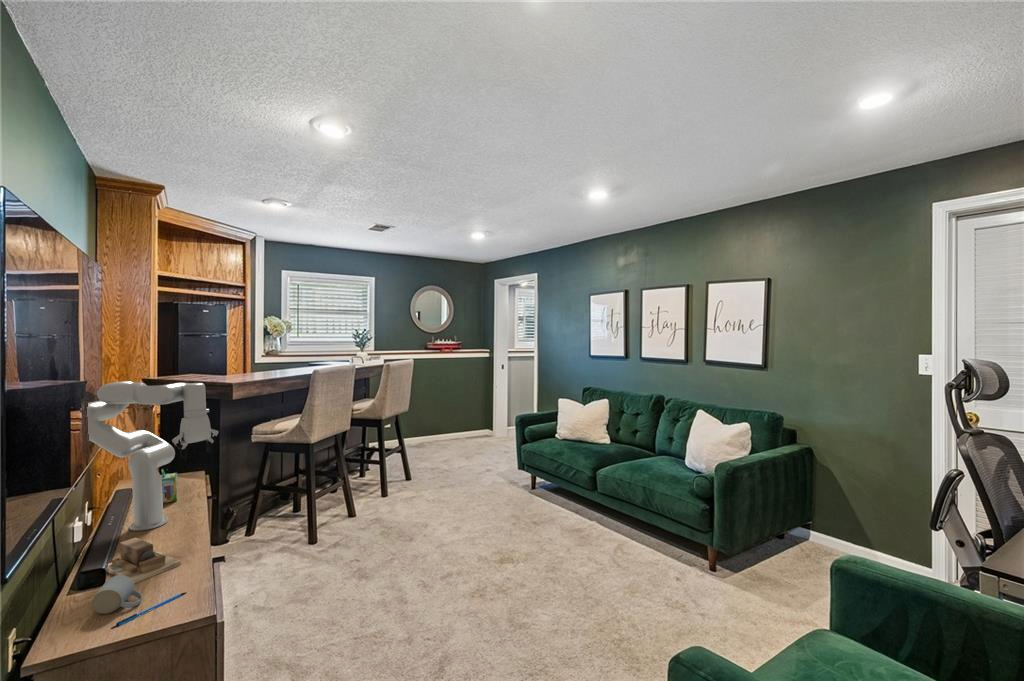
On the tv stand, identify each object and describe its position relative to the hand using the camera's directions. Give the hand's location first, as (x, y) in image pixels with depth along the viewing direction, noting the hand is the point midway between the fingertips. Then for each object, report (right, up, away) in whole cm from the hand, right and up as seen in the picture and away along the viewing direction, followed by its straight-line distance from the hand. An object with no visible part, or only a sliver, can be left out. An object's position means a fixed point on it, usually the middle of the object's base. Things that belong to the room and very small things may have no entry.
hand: (196, 455), depth 195 cm
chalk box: (-33, -28, +29) cm, 52 cm away
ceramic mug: (+15, -30, -57) cm, 66 cm away
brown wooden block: (+1, -28, -32) cm, 43 cm away
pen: (+26, -30, -59) cm, 71 cm away
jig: (+4, -29, -34) cm, 45 cm away
